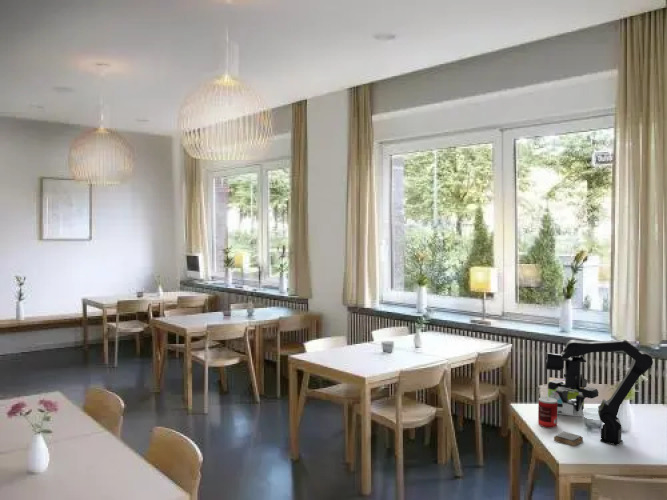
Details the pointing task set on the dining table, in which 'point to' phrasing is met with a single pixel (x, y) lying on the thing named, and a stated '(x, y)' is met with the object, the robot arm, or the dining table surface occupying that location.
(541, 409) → the canned food
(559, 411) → the tea box
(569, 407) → the housing
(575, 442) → the stand
